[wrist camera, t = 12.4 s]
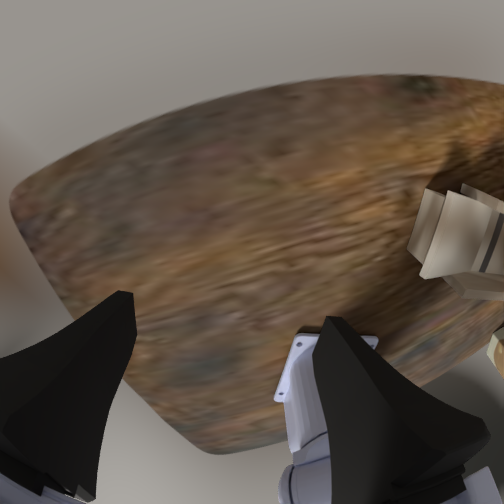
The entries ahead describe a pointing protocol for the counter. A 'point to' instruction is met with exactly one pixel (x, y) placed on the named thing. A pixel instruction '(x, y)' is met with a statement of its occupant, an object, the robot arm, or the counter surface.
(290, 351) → the robot arm
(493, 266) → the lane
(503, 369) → the skincare box
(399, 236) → the counter surface
